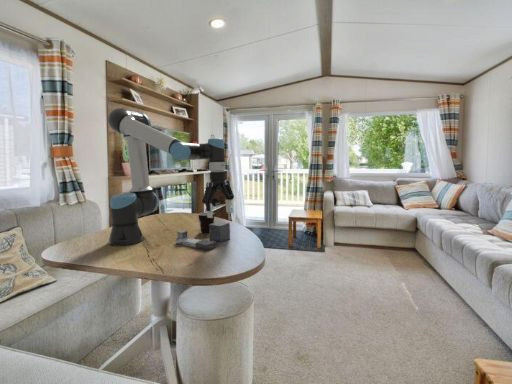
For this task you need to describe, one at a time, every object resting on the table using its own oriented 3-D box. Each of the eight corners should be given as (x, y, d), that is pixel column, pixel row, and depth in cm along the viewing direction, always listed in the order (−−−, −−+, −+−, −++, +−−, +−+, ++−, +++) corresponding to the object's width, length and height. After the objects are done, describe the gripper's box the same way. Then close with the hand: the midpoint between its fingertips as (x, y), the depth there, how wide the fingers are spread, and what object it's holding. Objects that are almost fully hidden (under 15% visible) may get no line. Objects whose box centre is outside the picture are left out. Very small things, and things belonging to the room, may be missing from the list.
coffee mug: (213, 233, 152) (212, 215, 151) (197, 234, 152) (196, 215, 151) (217, 228, 164) (216, 211, 163) (202, 228, 164) (201, 211, 163)
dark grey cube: (209, 240, 140) (209, 224, 139) (219, 237, 146) (218, 221, 145) (220, 242, 136) (220, 226, 135) (230, 238, 142) (229, 223, 141)
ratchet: (173, 243, 137) (173, 232, 136) (183, 240, 142) (182, 229, 141) (206, 250, 124) (206, 238, 124) (216, 247, 129) (215, 235, 129)
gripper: (204, 172, 125) (207, 220, 127) (239, 169, 145) (241, 211, 148) (192, 172, 129) (195, 219, 132) (228, 170, 150) (230, 210, 152)
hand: (219, 215), depth 140 cm, fingers open, 13 cm apart
